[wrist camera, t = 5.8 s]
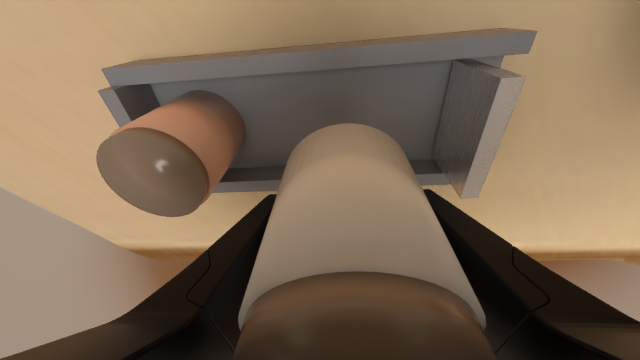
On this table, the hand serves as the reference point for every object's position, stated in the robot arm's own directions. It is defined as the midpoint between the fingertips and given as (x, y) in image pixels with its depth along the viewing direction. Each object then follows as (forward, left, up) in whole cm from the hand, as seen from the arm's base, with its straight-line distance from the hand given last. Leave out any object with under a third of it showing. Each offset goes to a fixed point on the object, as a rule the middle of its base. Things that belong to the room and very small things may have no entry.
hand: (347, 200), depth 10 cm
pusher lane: (+2, 0, -10) cm, 10 cm away
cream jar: (0, 0, -1) cm, 1 cm away
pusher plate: (-7, 0, -9) cm, 12 cm away
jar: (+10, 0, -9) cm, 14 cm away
